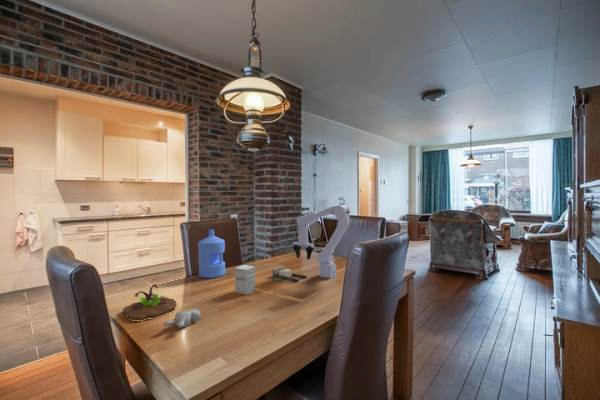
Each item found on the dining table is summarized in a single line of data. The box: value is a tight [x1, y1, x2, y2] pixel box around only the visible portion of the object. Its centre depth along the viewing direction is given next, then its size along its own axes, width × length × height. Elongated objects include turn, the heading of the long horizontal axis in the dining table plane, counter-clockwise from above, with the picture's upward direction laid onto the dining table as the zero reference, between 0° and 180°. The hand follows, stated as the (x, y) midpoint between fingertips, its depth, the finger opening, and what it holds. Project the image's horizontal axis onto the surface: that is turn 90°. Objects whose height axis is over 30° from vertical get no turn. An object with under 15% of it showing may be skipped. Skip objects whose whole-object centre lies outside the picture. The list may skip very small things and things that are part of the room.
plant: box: [122, 284, 177, 320], centre depth 123 cm, size 20×20×11 cm
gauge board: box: [266, 266, 311, 286], centre depth 161 cm, size 22×13×5 cm, turn 54°
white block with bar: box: [274, 268, 293, 277], centre depth 162 cm, size 5×10×4 cm, turn 144°
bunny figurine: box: [163, 308, 201, 328], centre depth 109 cm, size 10×5×15 cm
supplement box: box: [234, 264, 256, 295], centre depth 144 cm, size 7×7×13 cm
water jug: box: [197, 228, 227, 279], centre depth 175 cm, size 16×16×28 cm
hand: (303, 258), depth 172 cm, fingers open, 7 cm apart
